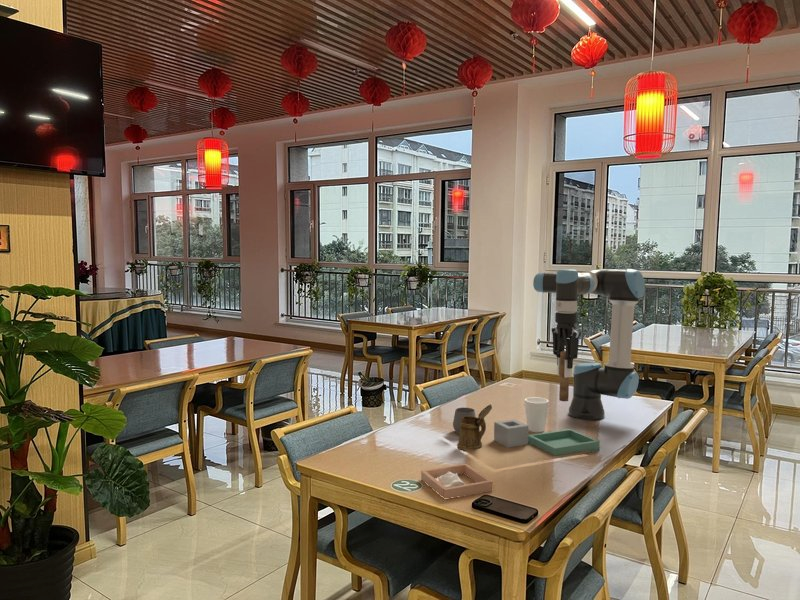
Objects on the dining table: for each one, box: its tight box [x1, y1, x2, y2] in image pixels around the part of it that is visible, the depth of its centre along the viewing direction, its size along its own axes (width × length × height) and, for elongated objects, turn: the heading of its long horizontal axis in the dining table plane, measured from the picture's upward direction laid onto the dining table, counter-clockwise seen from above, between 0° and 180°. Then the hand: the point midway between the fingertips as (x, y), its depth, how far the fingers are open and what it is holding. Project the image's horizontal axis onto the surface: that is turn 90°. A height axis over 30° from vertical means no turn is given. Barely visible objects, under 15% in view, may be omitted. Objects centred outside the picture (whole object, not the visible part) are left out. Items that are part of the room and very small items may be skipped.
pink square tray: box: [420, 462, 494, 499], centre depth 179 cm, size 16×16×3 cm
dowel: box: [558, 350, 570, 402], centre depth 212 cm, size 3×3×18 cm
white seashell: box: [436, 472, 465, 488], centre depth 179 cm, size 10×4×10 cm
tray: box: [528, 428, 601, 458], centre depth 214 cm, size 20×16×4 cm
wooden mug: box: [456, 404, 493, 452], centre depth 211 cm, size 9×14×18 cm, turn 47°
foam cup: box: [524, 396, 550, 433], centre depth 232 cm, size 10×9×13 cm
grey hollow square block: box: [493, 418, 529, 448], centre depth 216 cm, size 9×9×8 cm
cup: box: [452, 407, 477, 435], centre depth 228 cm, size 10×9×10 cm
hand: (564, 375), depth 212 cm, fingers closed on dowel, 3 cm apart
